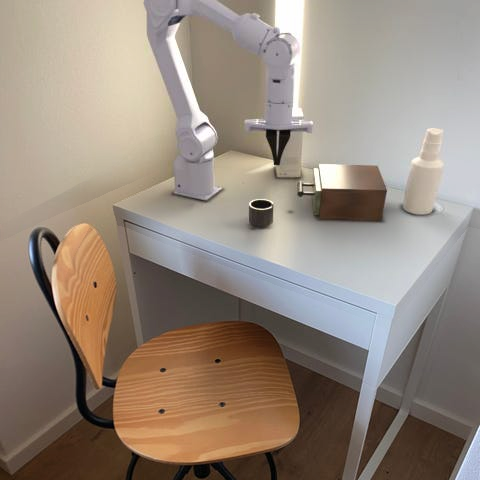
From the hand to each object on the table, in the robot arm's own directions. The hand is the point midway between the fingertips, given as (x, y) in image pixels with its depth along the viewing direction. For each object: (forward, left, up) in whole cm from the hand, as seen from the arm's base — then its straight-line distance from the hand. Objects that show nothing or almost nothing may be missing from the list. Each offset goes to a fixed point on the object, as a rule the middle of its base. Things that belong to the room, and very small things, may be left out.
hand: (276, 163), depth 115 cm
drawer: (+12, +5, -9) cm, 16 cm away
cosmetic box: (-5, +20, -10) cm, 23 cm away
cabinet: (+16, +7, -10) cm, 20 cm away
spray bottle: (+31, +13, -10) cm, 35 cm away
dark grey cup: (+1, -11, -10) cm, 15 cm away
